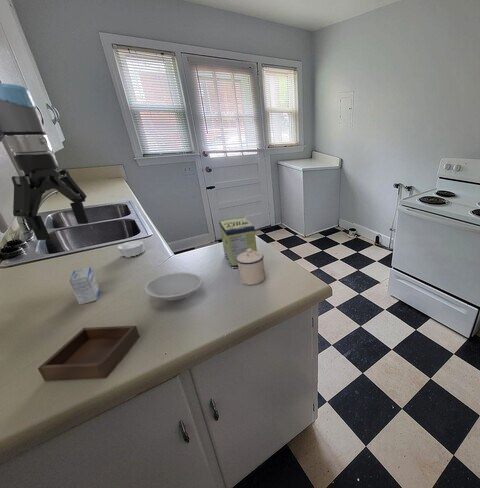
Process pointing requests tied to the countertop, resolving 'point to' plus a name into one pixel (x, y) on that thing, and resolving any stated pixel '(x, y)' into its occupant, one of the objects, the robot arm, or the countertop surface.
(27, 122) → the robot arm
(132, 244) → the ramekin
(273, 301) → the countertop surface
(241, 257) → the teacup with lid
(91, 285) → the medicine box
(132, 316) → the countertop surface
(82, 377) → the holder
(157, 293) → the dish
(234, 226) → the protein box
